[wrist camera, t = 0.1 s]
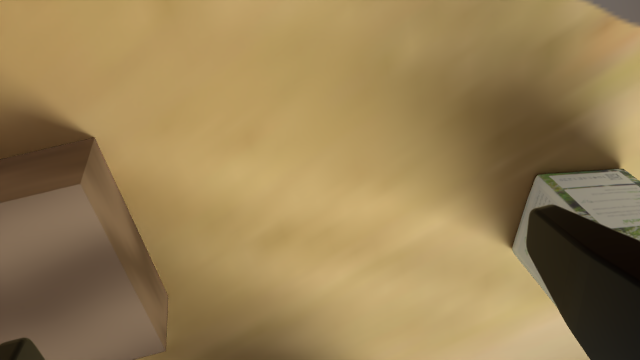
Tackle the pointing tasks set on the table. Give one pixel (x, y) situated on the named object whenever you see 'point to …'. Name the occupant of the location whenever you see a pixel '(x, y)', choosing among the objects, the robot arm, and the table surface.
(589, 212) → the syrup box
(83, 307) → the walnut block
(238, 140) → the table surface
